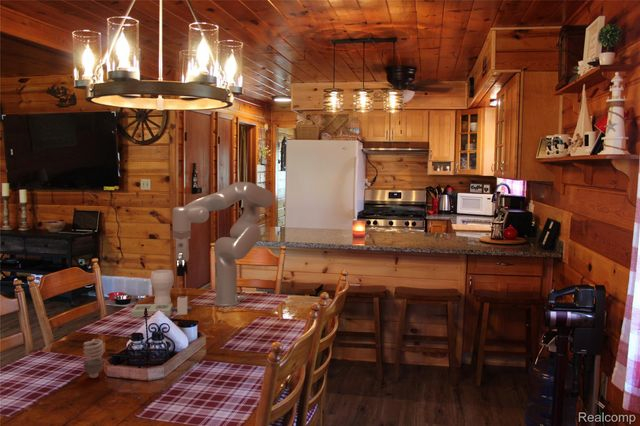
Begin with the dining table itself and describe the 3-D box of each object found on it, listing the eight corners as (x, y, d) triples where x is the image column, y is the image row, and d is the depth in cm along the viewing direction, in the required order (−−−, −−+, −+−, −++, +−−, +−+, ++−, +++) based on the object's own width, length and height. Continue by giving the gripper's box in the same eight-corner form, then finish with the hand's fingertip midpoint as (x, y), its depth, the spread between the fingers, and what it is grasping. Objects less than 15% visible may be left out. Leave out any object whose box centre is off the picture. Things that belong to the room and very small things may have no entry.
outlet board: (172, 308, 237) (172, 302, 236) (169, 316, 225) (169, 309, 225) (136, 309, 234) (136, 303, 234) (131, 317, 222) (131, 310, 222)
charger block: (187, 311, 232) (187, 296, 231) (186, 314, 228) (186, 298, 227) (178, 312, 231) (178, 296, 231) (177, 314, 227) (177, 298, 227)
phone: (192, 309, 239) (192, 306, 239) (191, 311, 234) (191, 308, 234) (174, 309, 238) (174, 306, 237) (173, 312, 233) (173, 309, 233)
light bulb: (98, 373, 161) (97, 335, 160) (107, 378, 158) (106, 339, 157) (80, 378, 157) (79, 339, 156) (89, 383, 154) (88, 344, 153)
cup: (149, 301, 250) (149, 270, 249) (172, 299, 254) (171, 268, 253) (152, 306, 240) (152, 274, 239) (175, 304, 245) (175, 272, 244)
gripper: (189, 237, 219) (189, 277, 220) (192, 232, 236) (192, 270, 237) (170, 237, 218) (170, 277, 219) (174, 232, 235) (175, 270, 236)
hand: (181, 273), depth 228 cm, fingers open, 9 cm apart
